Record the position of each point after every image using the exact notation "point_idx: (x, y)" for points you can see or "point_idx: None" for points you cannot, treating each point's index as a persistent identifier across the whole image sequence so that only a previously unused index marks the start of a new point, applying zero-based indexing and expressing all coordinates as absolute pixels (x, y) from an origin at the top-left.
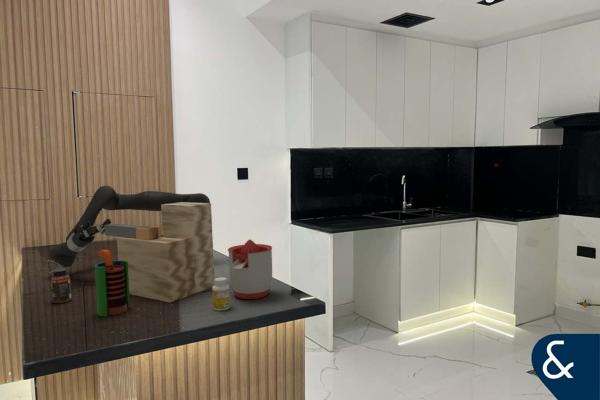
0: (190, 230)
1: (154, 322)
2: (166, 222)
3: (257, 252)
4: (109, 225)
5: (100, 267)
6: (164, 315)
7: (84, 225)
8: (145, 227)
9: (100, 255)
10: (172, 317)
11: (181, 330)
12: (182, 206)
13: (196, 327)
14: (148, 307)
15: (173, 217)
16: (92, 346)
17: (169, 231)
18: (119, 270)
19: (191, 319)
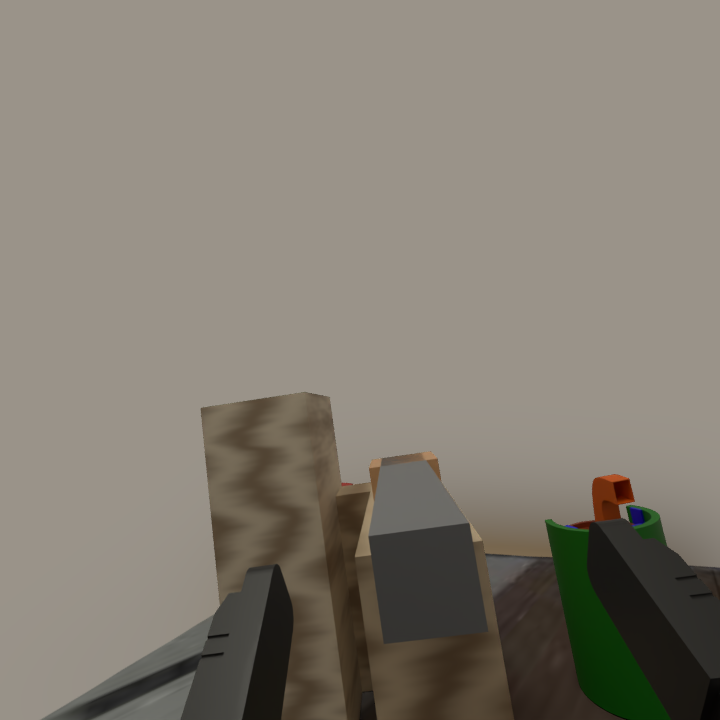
0: (338, 467)
1: (558, 592)
2: (318, 461)
3: (341, 483)
4: (456, 504)
5: (641, 507)
6: (523, 604)
7: (711, 608)
8: (404, 460)
9: (628, 493)
10: (516, 592)
11: (533, 560)
12: (324, 398)
13: (508, 559)
14: (529, 652)
15: (322, 437)
16: (702, 575)
17: (325, 493)
18: (585, 525)
19: (494, 575)
